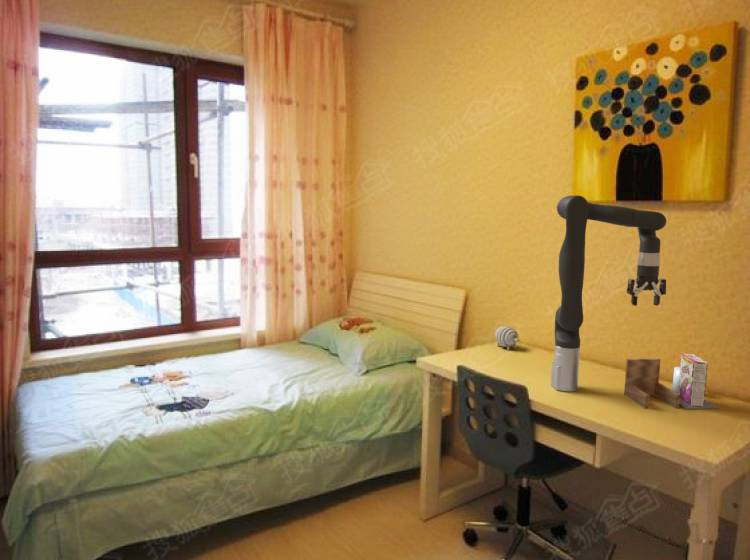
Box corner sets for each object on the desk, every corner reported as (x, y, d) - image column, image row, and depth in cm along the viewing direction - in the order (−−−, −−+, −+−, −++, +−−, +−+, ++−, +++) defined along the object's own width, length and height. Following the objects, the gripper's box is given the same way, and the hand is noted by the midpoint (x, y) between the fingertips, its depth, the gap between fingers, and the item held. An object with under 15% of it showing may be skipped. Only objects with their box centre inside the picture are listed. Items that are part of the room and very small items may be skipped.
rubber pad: (685, 409, 183) (685, 407, 183) (665, 396, 195) (665, 395, 194) (718, 408, 183) (718, 407, 183) (696, 396, 195) (696, 394, 195)
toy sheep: (502, 342, 271) (502, 322, 269) (526, 350, 257) (527, 328, 255) (487, 345, 266) (488, 324, 264) (511, 353, 251) (512, 331, 250)
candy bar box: (676, 395, 195) (680, 353, 192) (691, 395, 194) (695, 353, 191) (689, 406, 184) (693, 361, 181) (704, 407, 183) (708, 362, 181)
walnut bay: (644, 408, 183) (647, 370, 181) (624, 394, 197) (626, 358, 195) (678, 408, 184) (682, 370, 182) (655, 393, 198) (658, 358, 196)
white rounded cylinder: (679, 395, 196) (681, 372, 195) (668, 388, 203) (670, 366, 202) (697, 394, 197) (699, 372, 195) (685, 388, 204) (687, 366, 202)
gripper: (635, 265, 194) (632, 307, 196) (672, 265, 195) (668, 307, 197) (625, 263, 202) (622, 303, 204) (660, 263, 202) (657, 303, 205)
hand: (645, 305), depth 200 cm, fingers open, 8 cm apart
